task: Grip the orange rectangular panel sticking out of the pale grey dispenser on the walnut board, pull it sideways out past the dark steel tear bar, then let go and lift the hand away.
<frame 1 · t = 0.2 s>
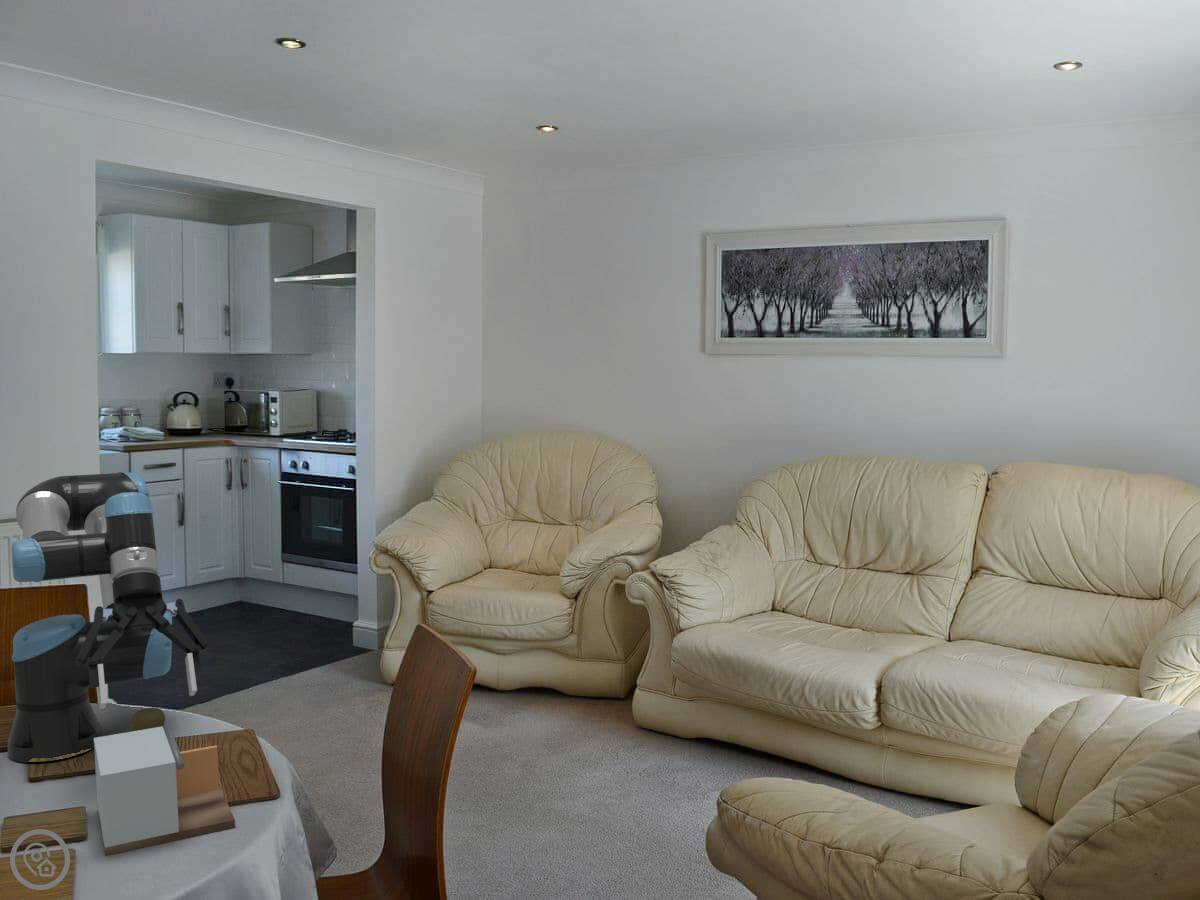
hand: (149, 699, 170), 16 cm above the table, tool tilted 35°, fingers open, 13 cm apart
walnut board: (165, 819, 163), on the table
olive brown ellipsoid: (151, 773, 180), on the table
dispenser: (139, 782, 161), on the walnut board, point 7 cm above the table
orange rectangular panel: (163, 777, 162), point 7 cm above the table, slide at 0.0 cm
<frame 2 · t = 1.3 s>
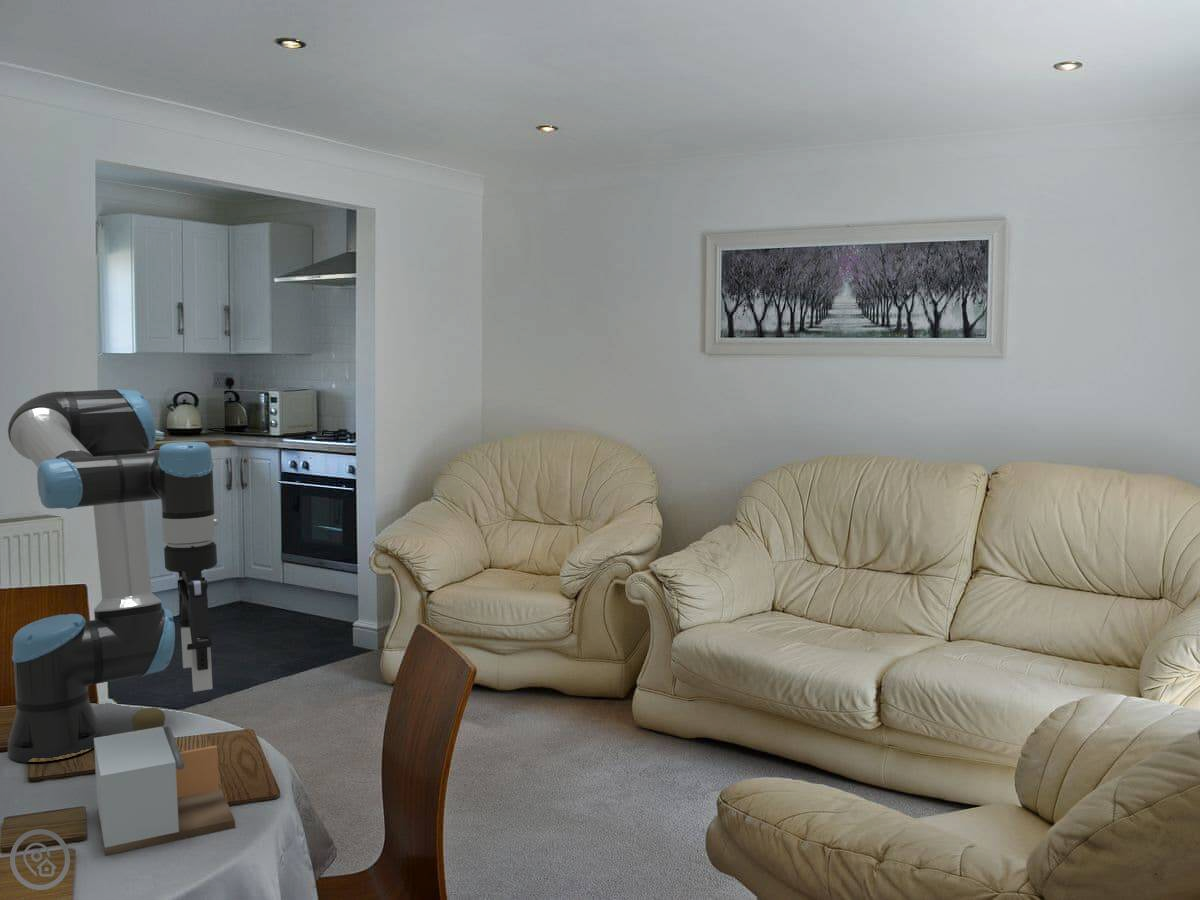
hand: (197, 677, 164), 22 cm above the table, tool pointing down, fingers open, 13 cm apart
nothing on the table moved.
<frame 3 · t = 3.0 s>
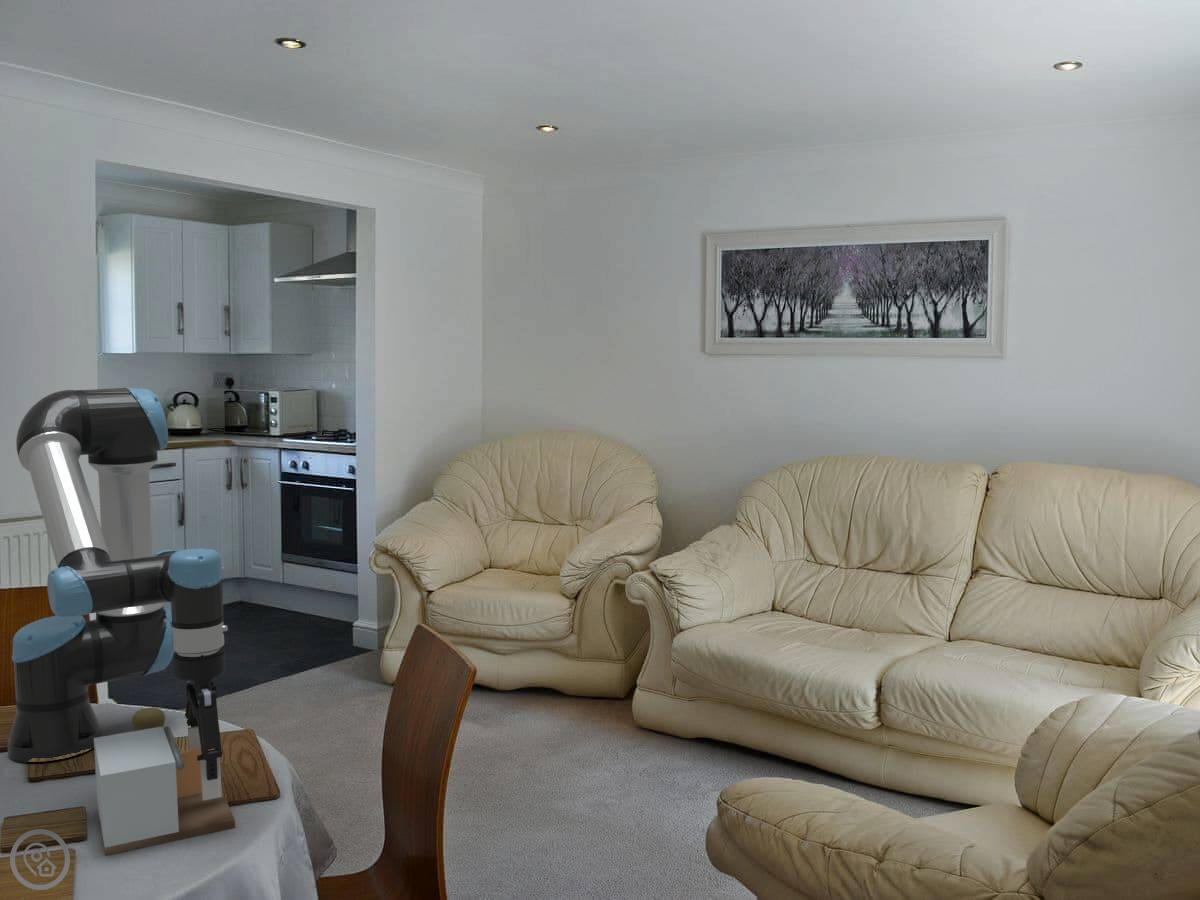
hand: (205, 781, 165), 5 cm above the table, tool pointing down, fingers open, 13 cm apart
nothing on the table moved.
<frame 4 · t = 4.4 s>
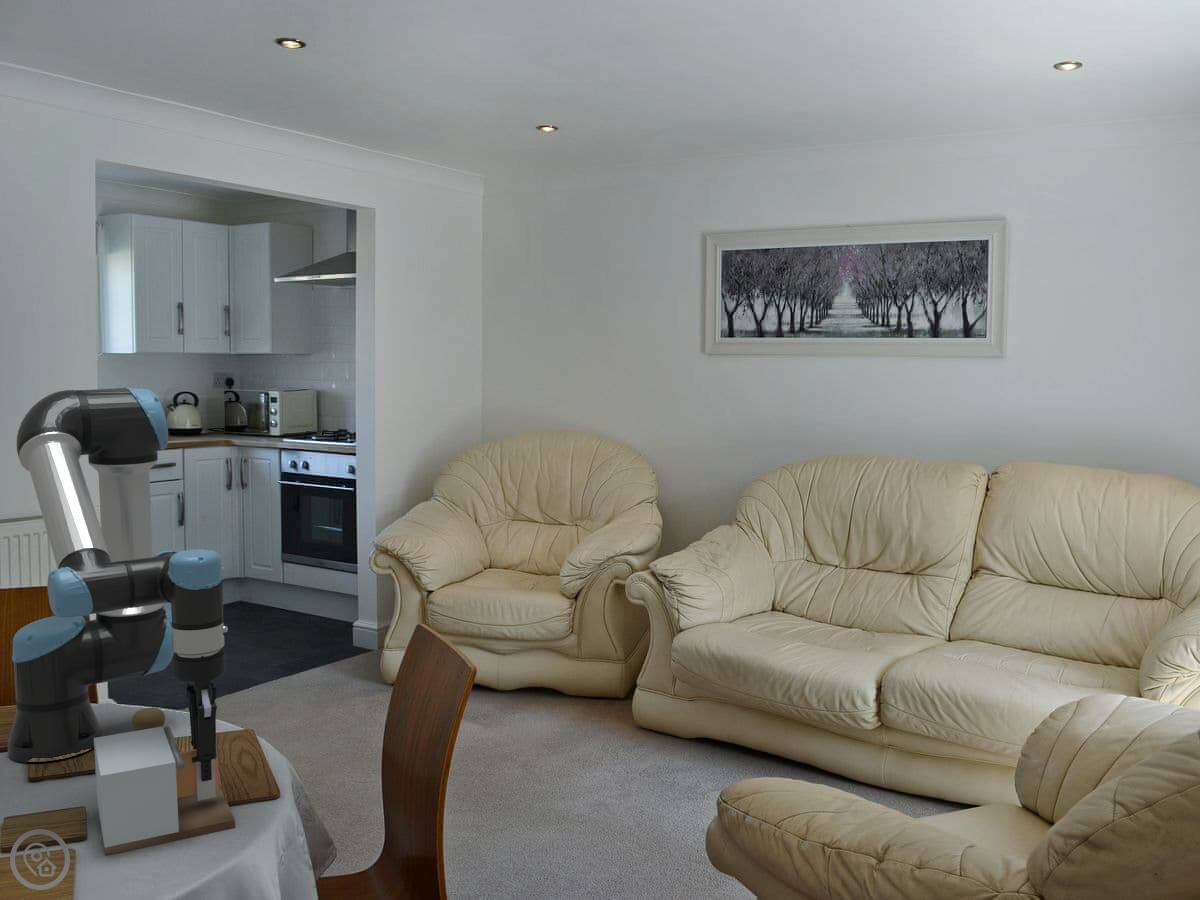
hand: (205, 796, 166), 2 cm above the table, tool pointing down, fingers closed, pressing on orange rectangular panel
orange rectangular panel: (163, 777, 162), point 7 cm above the table, slide at 0.0 cm, touching gripper
everything else where it was.
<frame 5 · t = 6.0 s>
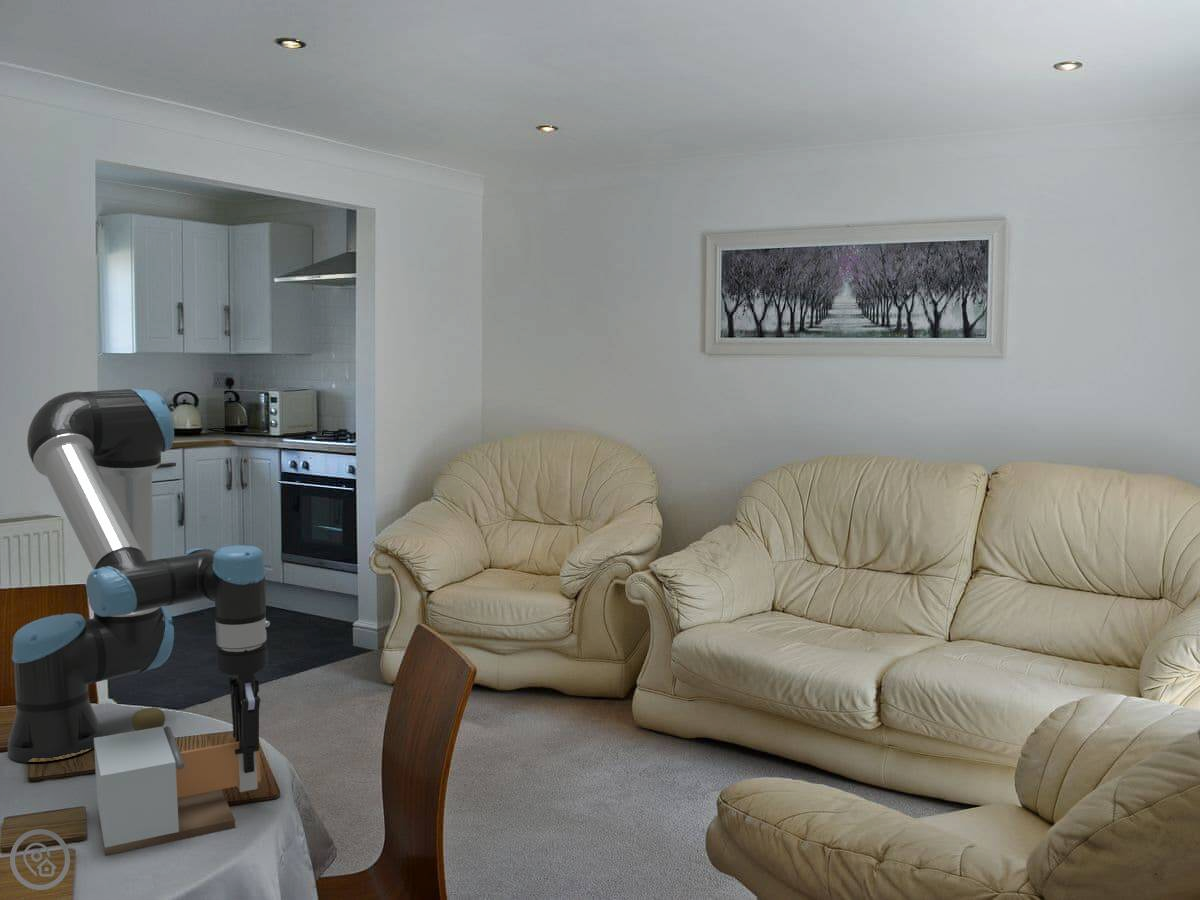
hand: (247, 787, 169), 2 cm above the table, tool pointing down, fingers closed, pressing on orange rectangular panel
orange rectangular panel: (207, 769, 165), point 7 cm above the table, slide at 6.4 cm, touching gripper
everything else where it was.
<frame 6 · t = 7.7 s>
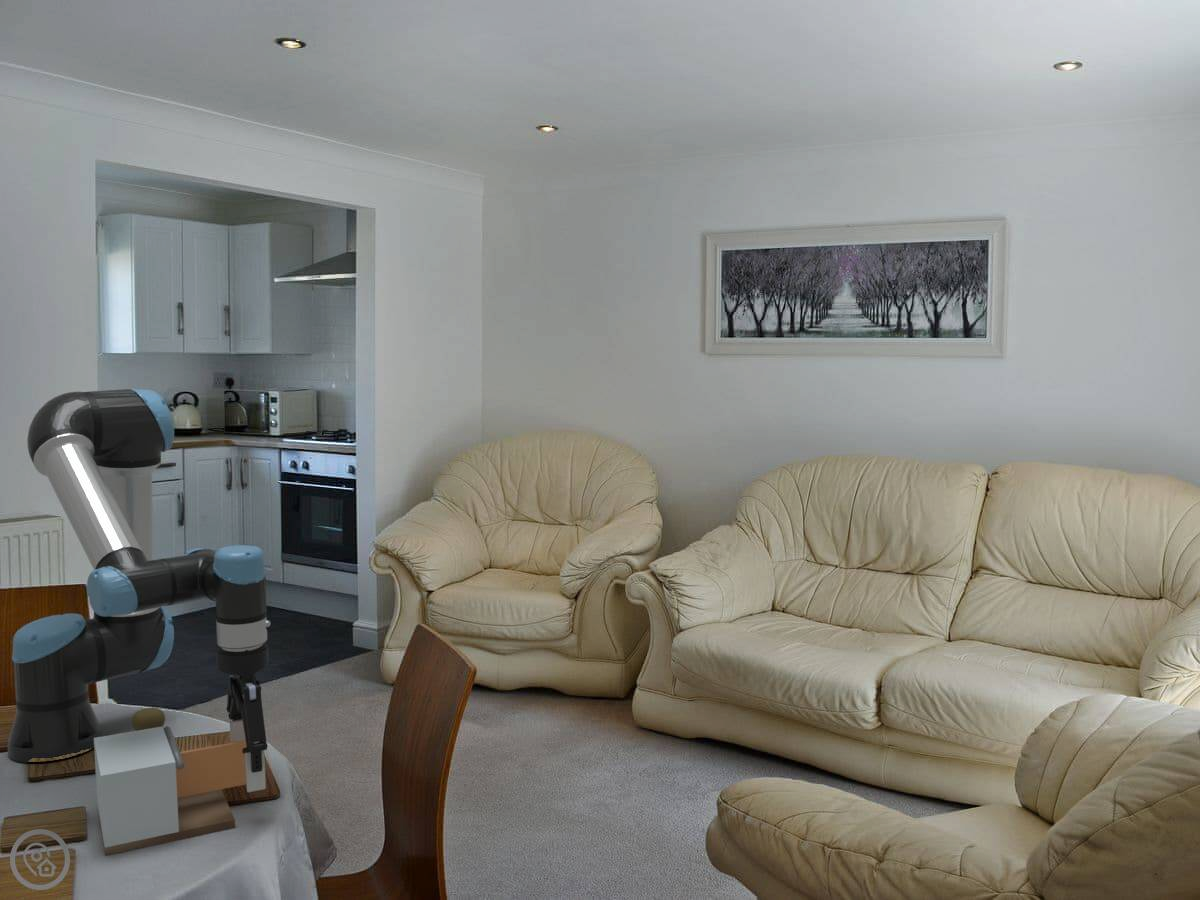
hand: (247, 773, 168), 5 cm above the table, tool pointing down, fingers open, 13 cm apart
orange rectangular panel: (207, 769, 165), point 7 cm above the table, slide at 6.5 cm
everything else where it was.
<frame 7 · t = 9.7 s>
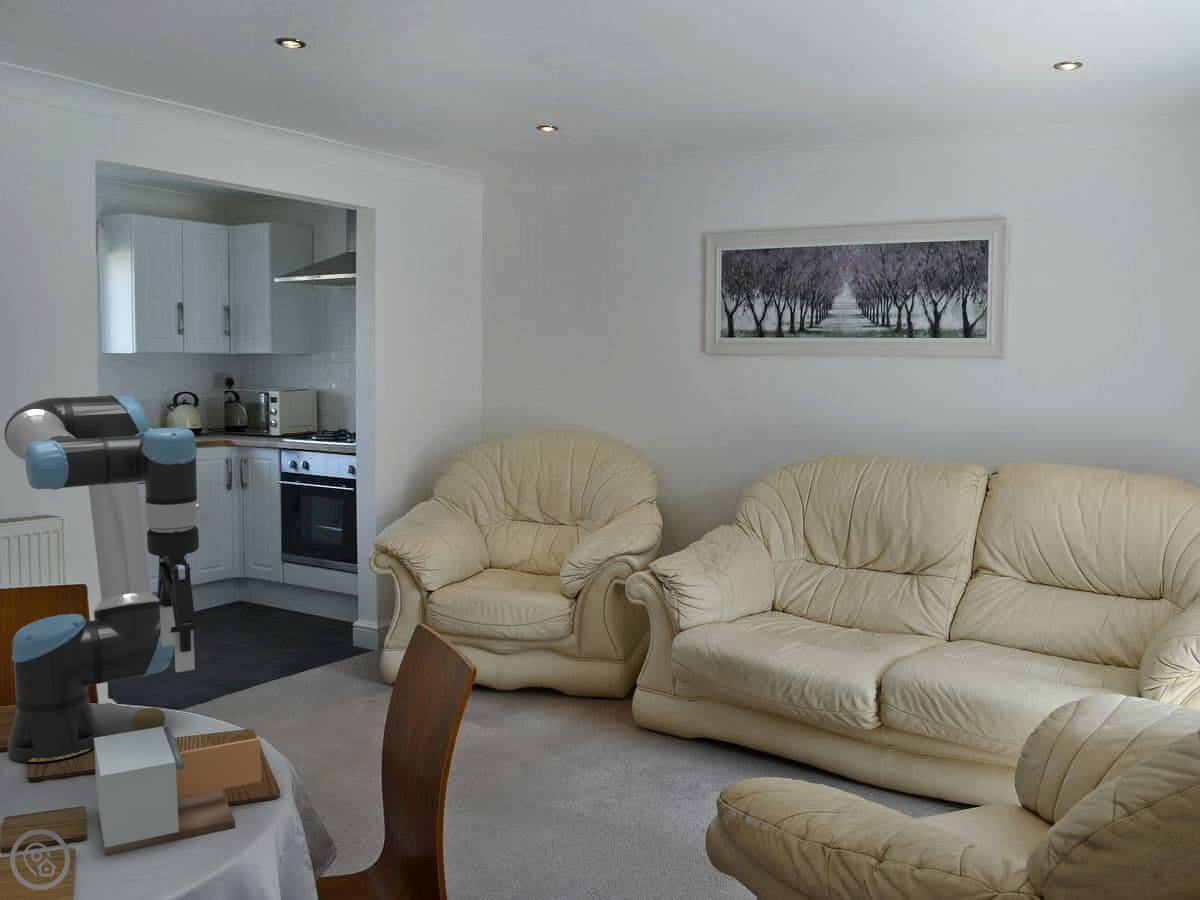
hand: (177, 657, 168), 23 cm above the table, tool pointing down, fingers open, 13 cm apart
nothing on the table moved.
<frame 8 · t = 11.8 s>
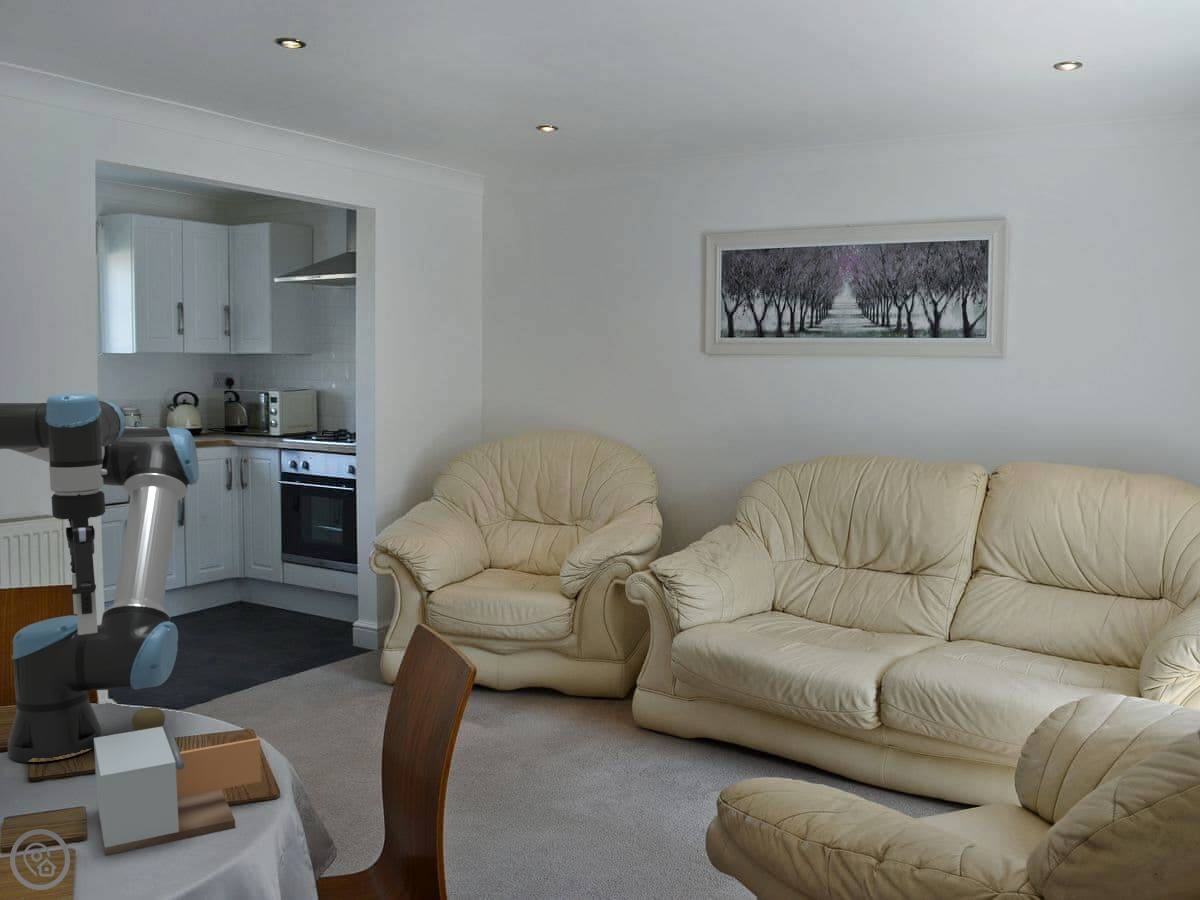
hand: (85, 622, 168), 29 cm above the table, tool pointing down, fingers open, 13 cm apart
nothing on the table moved.
at the end: orange rectangular panel slide at 6.5 cm; the gripper is holding nothing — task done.
